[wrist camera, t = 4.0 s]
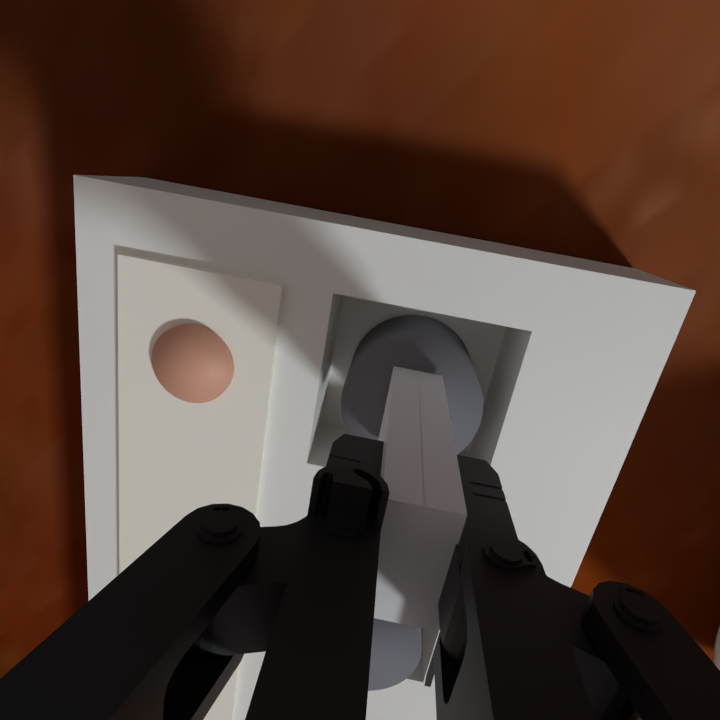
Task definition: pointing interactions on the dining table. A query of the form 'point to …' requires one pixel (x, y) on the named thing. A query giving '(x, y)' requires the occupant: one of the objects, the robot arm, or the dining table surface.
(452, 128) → the dining table surface
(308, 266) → the button board
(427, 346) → the button
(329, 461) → the robot arm
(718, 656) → the lidded jar
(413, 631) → the button
